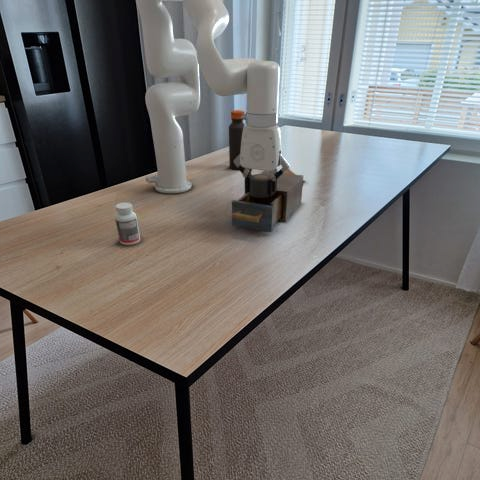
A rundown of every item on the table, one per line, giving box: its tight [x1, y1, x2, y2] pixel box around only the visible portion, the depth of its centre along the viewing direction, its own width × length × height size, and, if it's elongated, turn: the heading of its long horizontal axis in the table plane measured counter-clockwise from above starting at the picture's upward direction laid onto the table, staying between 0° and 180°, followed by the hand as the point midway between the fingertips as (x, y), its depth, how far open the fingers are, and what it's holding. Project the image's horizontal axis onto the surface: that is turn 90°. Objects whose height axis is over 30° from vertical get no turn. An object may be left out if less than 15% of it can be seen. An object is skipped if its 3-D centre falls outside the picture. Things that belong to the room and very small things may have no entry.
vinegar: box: [228, 109, 246, 171], centre depth 154 cm, size 7×7×20 cm
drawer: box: [231, 192, 284, 233], centre depth 113 cm, size 19×12×7 cm, turn 156°
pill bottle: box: [114, 202, 141, 246], centre depth 105 cm, size 5×5×10 cm
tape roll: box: [249, 173, 271, 198], centre depth 110 cm, size 6×6×5 cm
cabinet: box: [244, 170, 304, 223], centre depth 123 cm, size 16×13×9 cm
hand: (260, 192), depth 111 cm, fingers closed on tape roll, 6 cm apart
